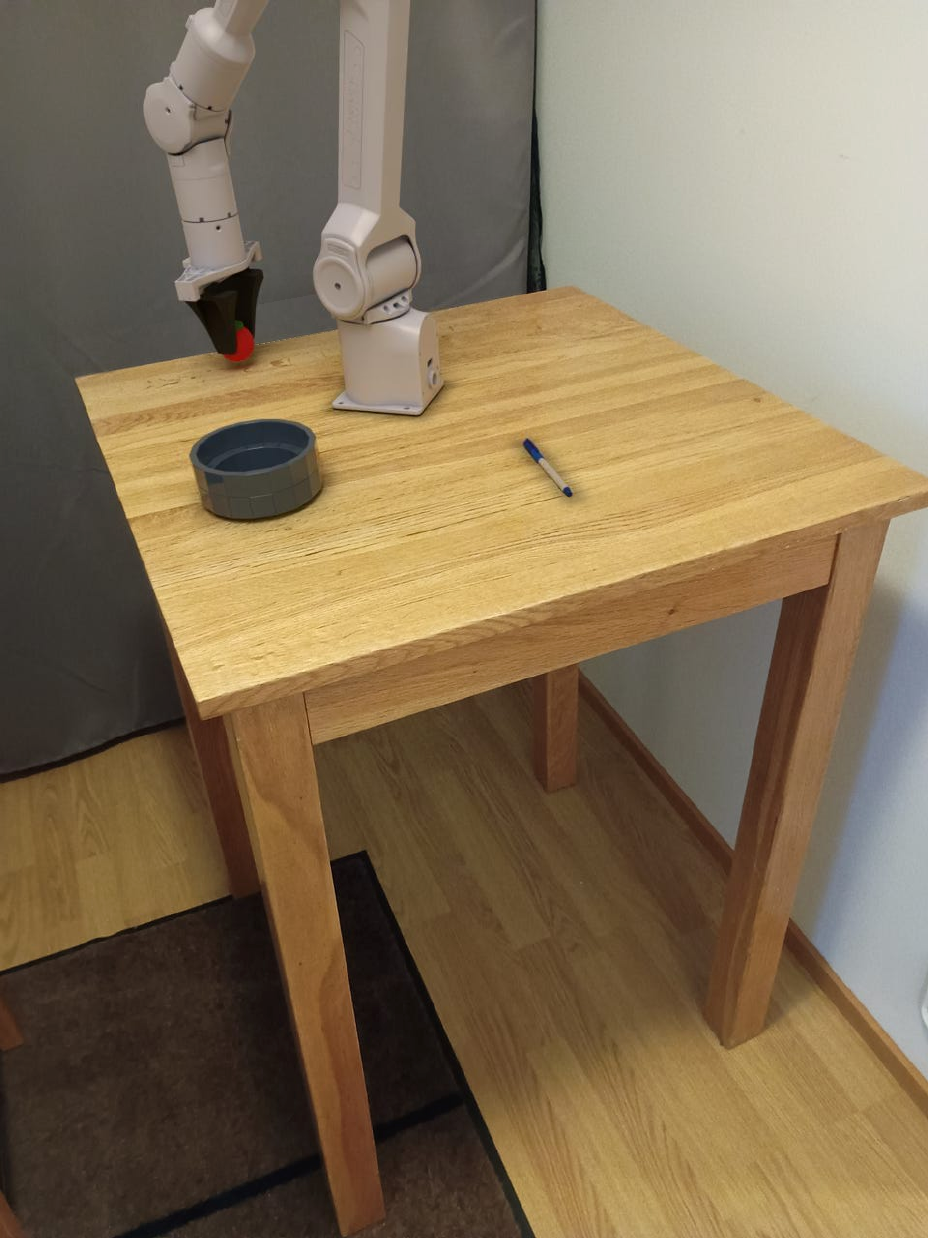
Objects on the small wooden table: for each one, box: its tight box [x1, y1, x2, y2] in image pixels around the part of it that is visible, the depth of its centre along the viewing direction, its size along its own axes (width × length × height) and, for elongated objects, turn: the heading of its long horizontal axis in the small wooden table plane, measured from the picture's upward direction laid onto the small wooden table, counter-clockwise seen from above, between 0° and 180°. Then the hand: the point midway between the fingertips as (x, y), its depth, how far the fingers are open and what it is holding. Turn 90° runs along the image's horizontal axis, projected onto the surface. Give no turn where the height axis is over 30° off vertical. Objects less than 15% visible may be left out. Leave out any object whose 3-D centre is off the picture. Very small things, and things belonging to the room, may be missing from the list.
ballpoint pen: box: [522, 438, 573, 497], centre depth 80 cm, size 10×1×1 cm, turn 19°
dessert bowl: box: [188, 418, 324, 520], centre depth 79 cm, size 10×10×4 cm
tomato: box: [221, 320, 255, 363], centre depth 102 cm, size 4×4×4 cm
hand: (236, 345), depth 102 cm, fingers closed on tomato, 3 cm apart
